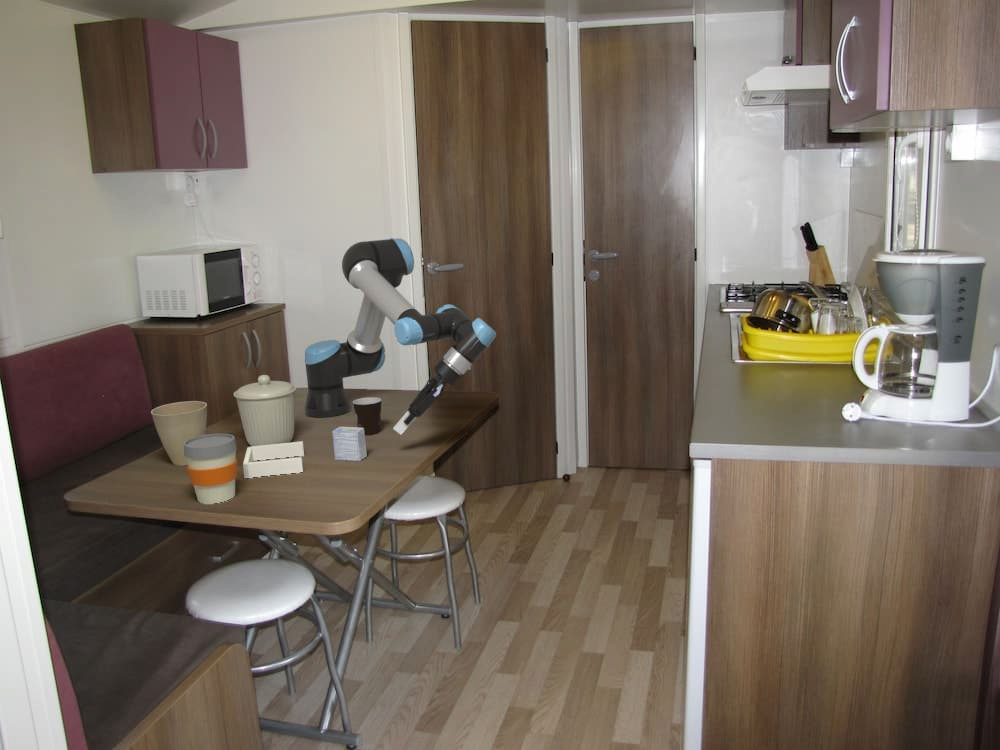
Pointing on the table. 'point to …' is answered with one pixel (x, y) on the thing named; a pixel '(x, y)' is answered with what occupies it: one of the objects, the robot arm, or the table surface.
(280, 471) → the shallow white tray
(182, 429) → the plant pot
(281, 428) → the canister
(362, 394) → the table surface
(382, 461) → the table surface
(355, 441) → the medicine box
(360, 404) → the coffee mug
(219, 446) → the reusable coffee cup
